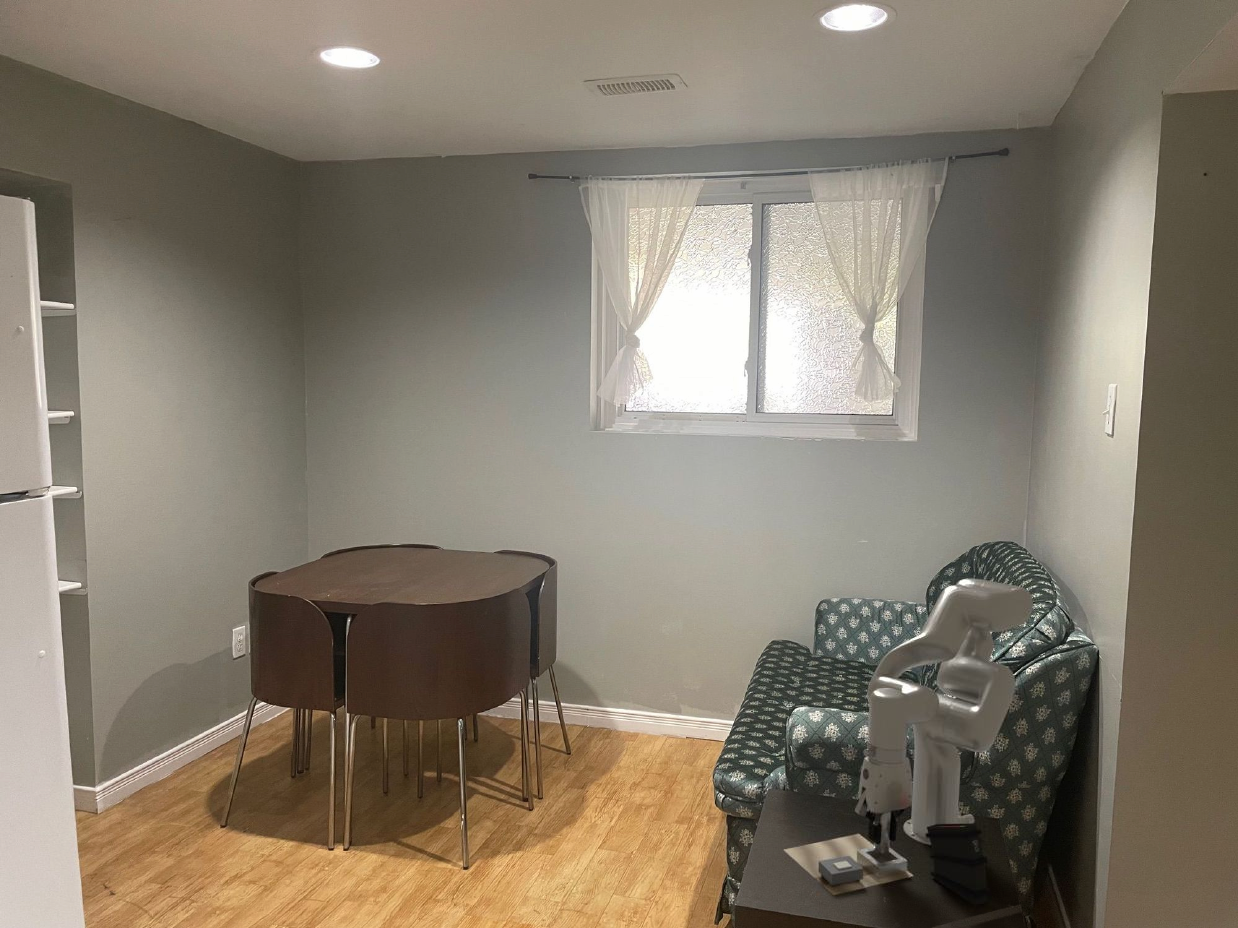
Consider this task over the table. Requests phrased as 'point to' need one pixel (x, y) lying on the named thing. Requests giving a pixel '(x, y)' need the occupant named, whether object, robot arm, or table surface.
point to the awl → (884, 833)
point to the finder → (840, 870)
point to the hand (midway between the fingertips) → (881, 838)
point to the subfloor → (838, 848)
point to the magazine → (959, 860)
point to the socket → (881, 870)
